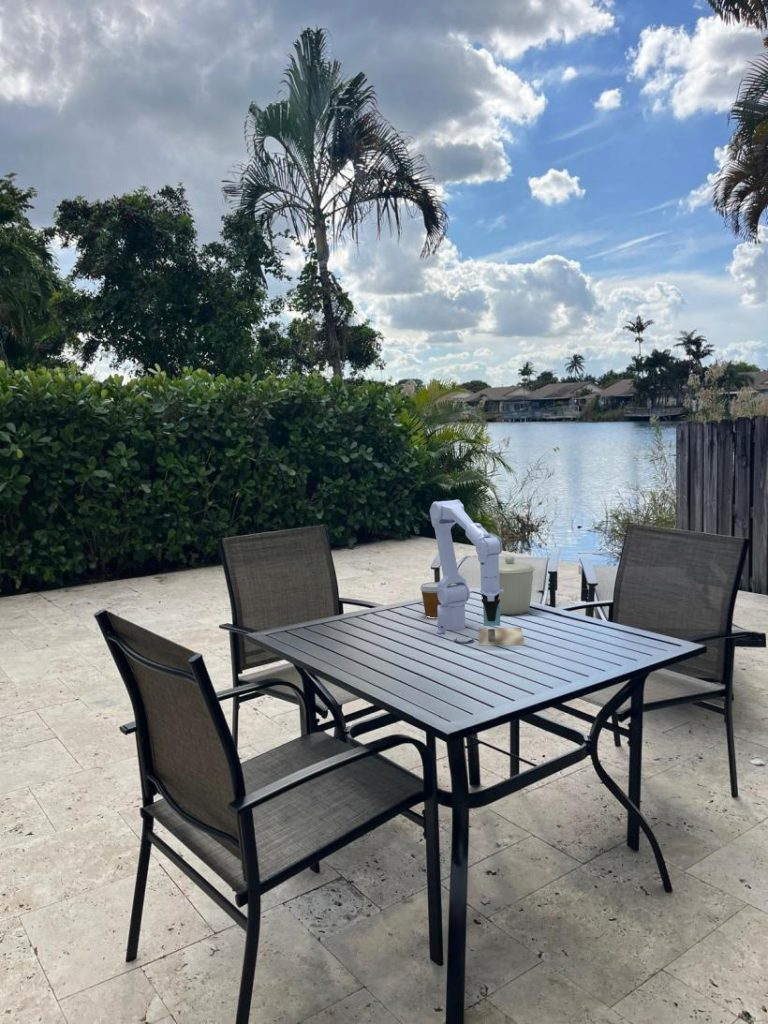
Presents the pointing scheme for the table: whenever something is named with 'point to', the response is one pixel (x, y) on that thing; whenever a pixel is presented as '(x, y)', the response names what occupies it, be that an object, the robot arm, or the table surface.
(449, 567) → the robot arm
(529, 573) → the canister
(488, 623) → the housing
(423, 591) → the disposable coffee cup
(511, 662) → the table surface
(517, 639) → the base board
